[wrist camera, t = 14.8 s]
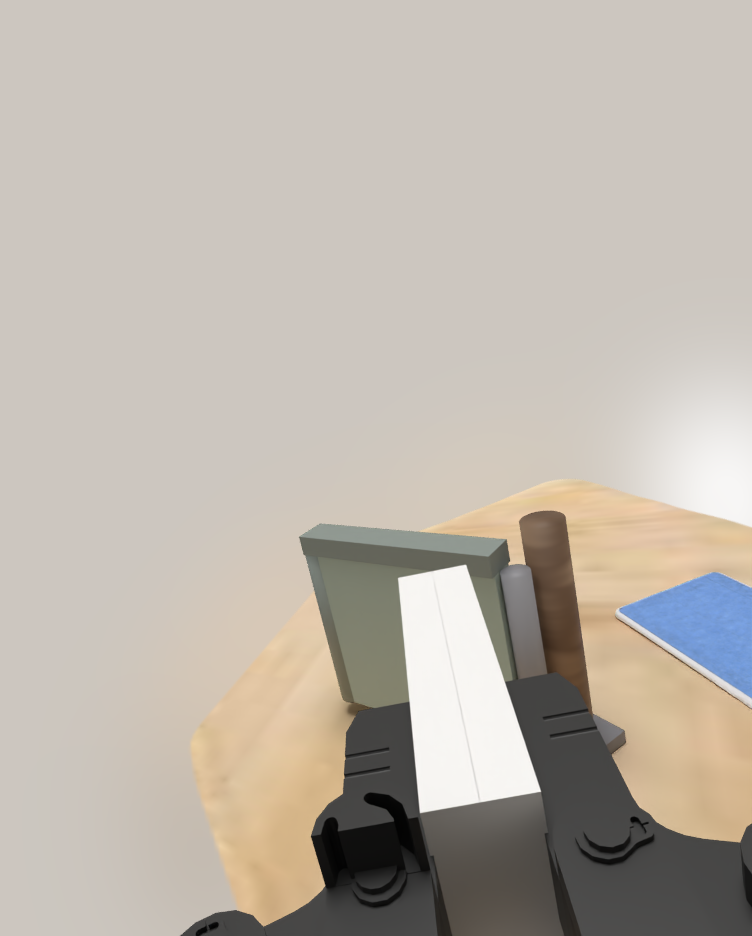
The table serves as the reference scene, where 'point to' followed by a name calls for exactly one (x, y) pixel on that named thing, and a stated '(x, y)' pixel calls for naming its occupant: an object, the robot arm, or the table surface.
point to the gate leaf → (379, 610)
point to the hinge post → (560, 607)
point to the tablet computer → (702, 628)
